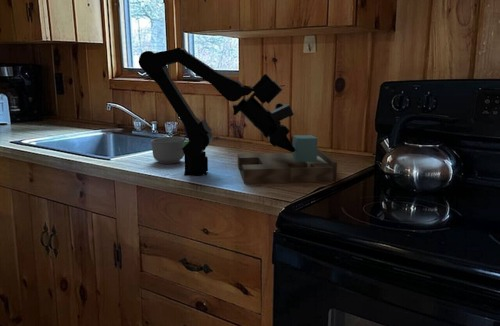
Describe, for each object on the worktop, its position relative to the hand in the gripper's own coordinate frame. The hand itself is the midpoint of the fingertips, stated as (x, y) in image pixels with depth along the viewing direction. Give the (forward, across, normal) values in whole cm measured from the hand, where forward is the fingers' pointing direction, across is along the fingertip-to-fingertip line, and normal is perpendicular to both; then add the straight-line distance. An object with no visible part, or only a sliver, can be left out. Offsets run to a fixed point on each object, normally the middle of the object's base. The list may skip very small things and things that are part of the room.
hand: (294, 151), depth 139 cm
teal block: (+4, 0, 0) cm, 4 cm away
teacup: (-22, +21, +32) cm, 44 cm away
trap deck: (+3, 0, +7) cm, 7 cm away
